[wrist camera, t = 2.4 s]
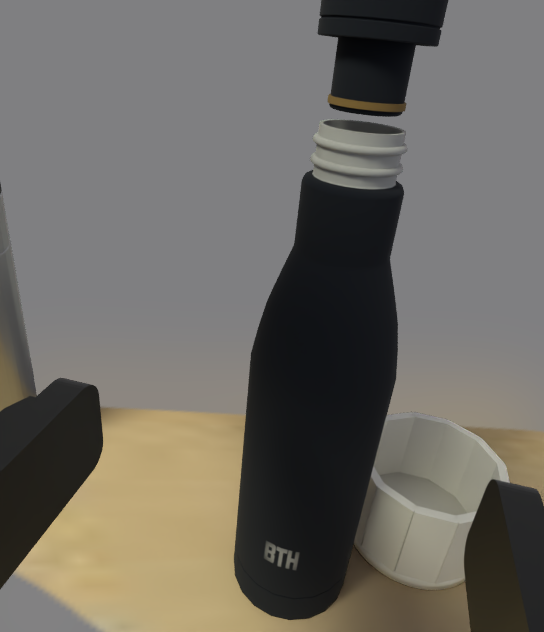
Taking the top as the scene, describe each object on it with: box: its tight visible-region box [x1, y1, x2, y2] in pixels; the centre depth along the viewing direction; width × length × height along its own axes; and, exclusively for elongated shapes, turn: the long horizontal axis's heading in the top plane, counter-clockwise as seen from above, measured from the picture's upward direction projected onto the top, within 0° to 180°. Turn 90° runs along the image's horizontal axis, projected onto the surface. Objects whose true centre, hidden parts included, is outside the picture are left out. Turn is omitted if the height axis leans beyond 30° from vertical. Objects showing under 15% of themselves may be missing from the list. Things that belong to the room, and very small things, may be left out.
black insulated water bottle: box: [234, 0, 448, 620], centre depth 22 cm, size 6×6×30 cm
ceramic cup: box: [354, 412, 510, 590], centre depth 31 cm, size 8×8×6 cm
